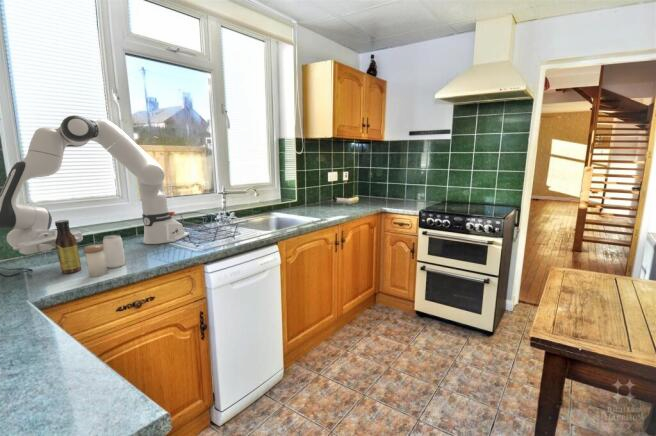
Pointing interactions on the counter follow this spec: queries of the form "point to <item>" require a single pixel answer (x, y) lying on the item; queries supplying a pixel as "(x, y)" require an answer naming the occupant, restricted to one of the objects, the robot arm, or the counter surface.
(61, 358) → the counter surface
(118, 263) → the can
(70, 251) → the sauce bottle
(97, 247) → the spice jar
